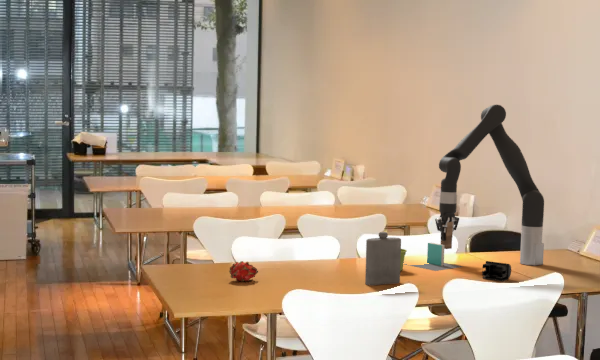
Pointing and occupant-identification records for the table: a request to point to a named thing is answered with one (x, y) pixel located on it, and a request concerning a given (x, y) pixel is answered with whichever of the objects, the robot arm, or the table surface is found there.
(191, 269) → the table surface
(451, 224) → the walnut stick
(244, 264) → the dragon fruit
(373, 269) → the flask
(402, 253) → the plant pot
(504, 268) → the end cap
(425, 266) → the mat
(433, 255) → the tile
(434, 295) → the table surface
